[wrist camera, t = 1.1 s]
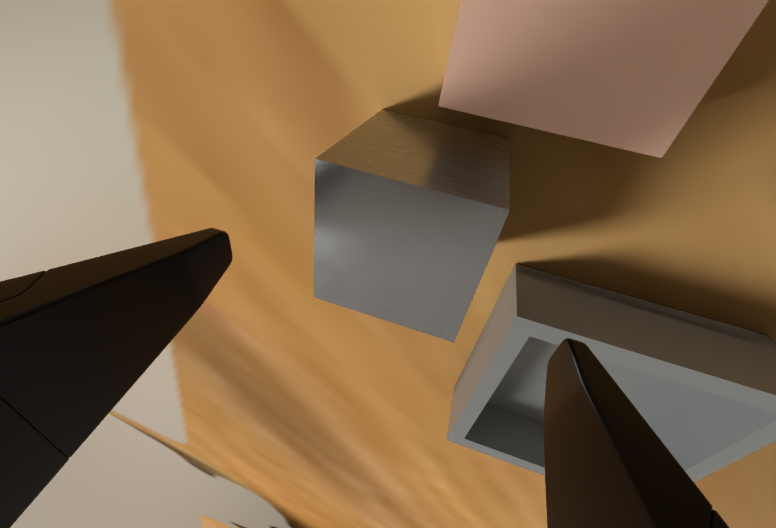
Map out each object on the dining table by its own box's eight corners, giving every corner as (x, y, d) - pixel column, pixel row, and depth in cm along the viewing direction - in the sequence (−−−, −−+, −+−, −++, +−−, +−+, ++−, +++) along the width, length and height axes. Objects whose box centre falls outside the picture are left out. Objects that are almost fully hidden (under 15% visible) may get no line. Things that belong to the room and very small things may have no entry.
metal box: (509, 138, 12) (509, 210, 8) (470, 245, 16) (453, 342, 11) (383, 108, 13) (314, 159, 9) (369, 217, 16) (314, 297, 12)
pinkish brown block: (728, -56, 9) (829, -90, 6) (624, 124, 11) (661, 158, 9) (496, -91, 9) (492, -134, 7) (453, 86, 12) (437, 106, 9)
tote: (769, 335, 14) (831, 412, 11) (622, 445, 21) (639, 510, 18) (515, 263, 15) (517, 316, 13) (454, 387, 22) (446, 439, 19)
